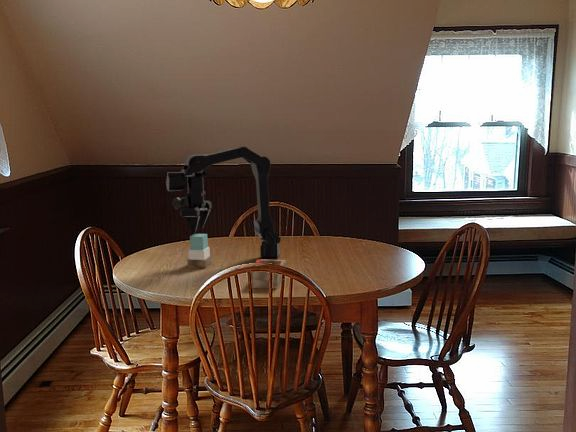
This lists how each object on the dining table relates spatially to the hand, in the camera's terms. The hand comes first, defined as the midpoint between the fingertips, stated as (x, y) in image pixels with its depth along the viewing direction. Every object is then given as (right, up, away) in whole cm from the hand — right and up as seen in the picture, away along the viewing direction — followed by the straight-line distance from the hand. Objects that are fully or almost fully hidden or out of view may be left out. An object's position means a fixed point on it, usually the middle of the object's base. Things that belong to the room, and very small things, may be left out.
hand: (197, 231), depth 222 cm
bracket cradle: (+27, -16, -19) cm, 37 cm away
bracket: (+26, -17, -18) cm, 36 cm away
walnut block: (+1, -13, +2) cm, 13 cm away
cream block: (+1, -10, +1) cm, 10 cm away
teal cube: (0, -6, +1) cm, 6 cm away
